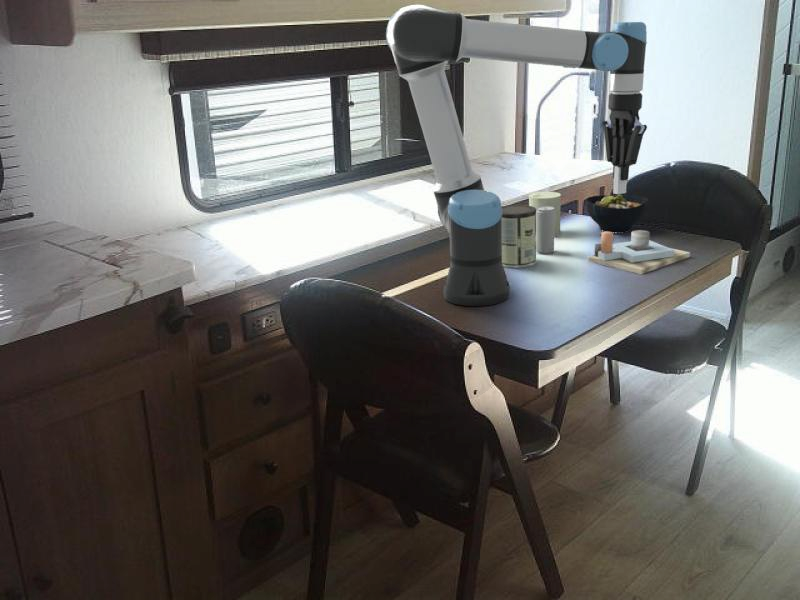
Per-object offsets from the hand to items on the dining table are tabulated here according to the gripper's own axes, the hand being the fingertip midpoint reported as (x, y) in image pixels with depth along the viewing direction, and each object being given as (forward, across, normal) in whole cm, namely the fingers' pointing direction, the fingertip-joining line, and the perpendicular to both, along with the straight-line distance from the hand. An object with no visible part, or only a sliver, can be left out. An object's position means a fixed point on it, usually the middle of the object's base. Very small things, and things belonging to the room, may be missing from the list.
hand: (619, 193), depth 192 cm
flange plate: (+17, +2, -7) cm, 18 cm away
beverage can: (+19, +21, +6) cm, 29 cm away
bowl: (+19, +28, -25) cm, 42 cm away
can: (+19, +36, -6) cm, 41 cm away
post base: (+18, +2, -9) cm, 21 cm away
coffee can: (+19, +18, +17) cm, 31 cm away
